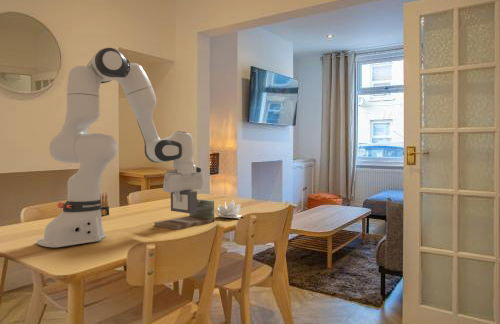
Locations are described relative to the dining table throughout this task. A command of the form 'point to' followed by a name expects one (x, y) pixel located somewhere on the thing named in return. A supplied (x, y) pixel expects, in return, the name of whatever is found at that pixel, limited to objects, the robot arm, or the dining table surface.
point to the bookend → (192, 217)
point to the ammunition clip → (104, 205)
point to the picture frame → (185, 202)
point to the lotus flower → (229, 210)
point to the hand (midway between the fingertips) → (183, 201)
